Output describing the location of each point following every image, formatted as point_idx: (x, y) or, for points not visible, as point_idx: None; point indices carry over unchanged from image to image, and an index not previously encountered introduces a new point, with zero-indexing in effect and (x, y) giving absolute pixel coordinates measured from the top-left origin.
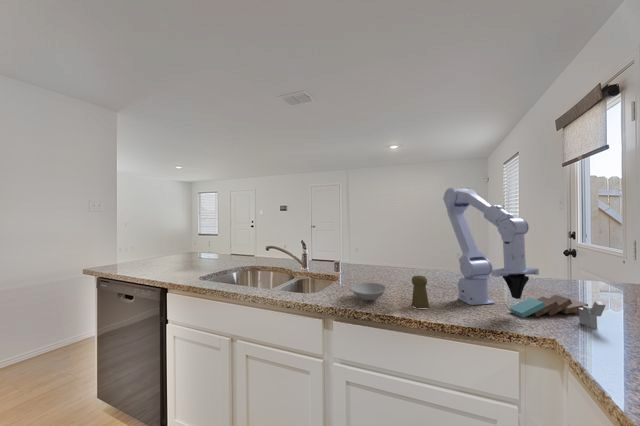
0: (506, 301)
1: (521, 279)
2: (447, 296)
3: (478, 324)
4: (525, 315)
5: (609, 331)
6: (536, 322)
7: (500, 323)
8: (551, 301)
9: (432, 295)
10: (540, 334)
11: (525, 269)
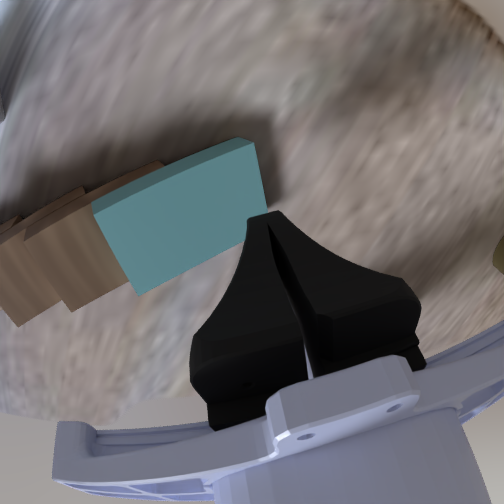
0: None
1: (315, 311)
2: None
3: (477, 69)
4: (227, 143)
5: None
6: (207, 70)
7: (401, 62)
8: (46, 247)
9: None
10: None
11: (254, 482)
